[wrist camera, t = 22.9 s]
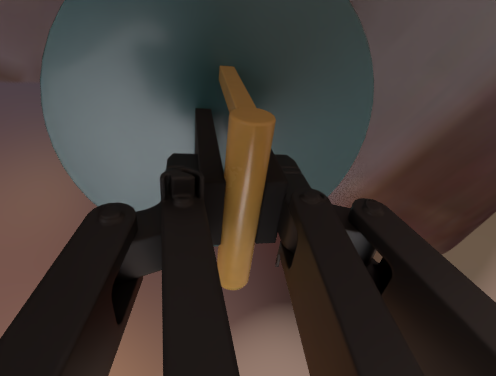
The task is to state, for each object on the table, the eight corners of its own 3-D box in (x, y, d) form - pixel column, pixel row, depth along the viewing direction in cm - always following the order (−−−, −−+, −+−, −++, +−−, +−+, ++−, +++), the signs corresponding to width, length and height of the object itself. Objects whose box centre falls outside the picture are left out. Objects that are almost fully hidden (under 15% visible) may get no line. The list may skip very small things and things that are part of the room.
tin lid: (84, 239, 20) (32, 376, 13) (-6, -113, 10) (-355, -276, 4) (322, 231, 23) (379, 336, 16) (413, -40, 14) (630, -56, 7)
